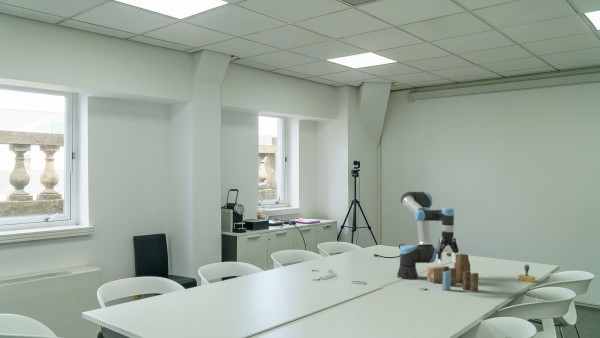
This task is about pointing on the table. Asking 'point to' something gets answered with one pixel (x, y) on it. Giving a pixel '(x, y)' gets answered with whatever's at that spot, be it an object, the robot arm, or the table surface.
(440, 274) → the end block
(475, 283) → the domino
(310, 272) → the table surface
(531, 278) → the rubber stamp
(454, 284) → the domino
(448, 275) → the domino
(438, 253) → the robot arm
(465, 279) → the domino
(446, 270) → the domino
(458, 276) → the bread loaf
